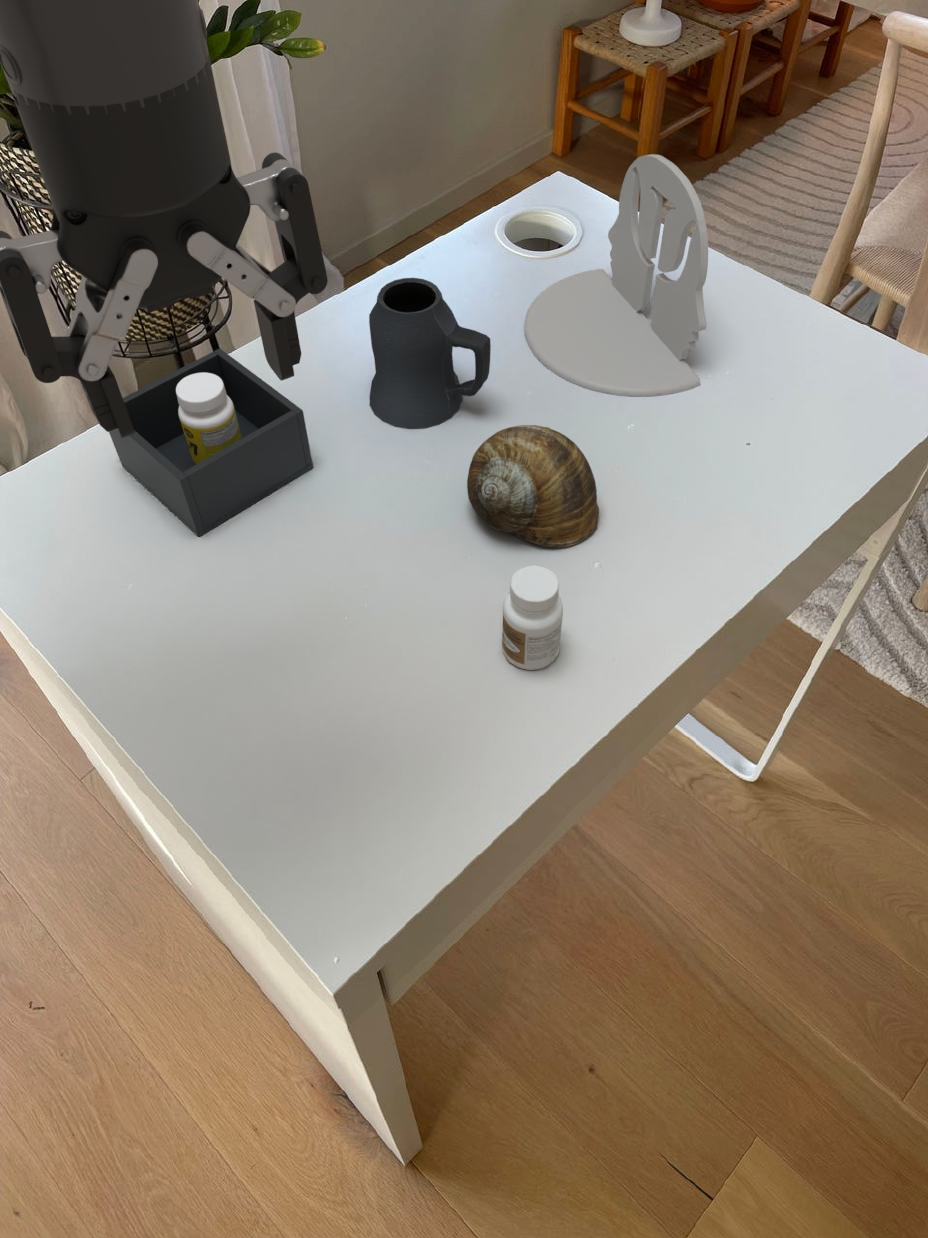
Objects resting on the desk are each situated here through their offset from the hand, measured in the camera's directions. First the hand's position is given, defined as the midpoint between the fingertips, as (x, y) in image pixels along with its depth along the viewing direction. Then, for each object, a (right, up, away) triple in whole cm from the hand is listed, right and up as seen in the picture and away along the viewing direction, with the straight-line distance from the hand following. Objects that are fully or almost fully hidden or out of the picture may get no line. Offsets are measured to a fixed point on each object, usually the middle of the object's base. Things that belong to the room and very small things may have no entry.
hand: (203, 398), depth 49 cm
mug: (+10, +10, +44) cm, 46 cm away
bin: (-9, +3, +38) cm, 39 cm away
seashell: (+19, -2, +34) cm, 39 cm away
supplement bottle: (-9, +3, +38) cm, 39 cm away
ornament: (+26, +17, +50) cm, 59 cm away
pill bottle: (+18, -14, +25) cm, 34 cm away
